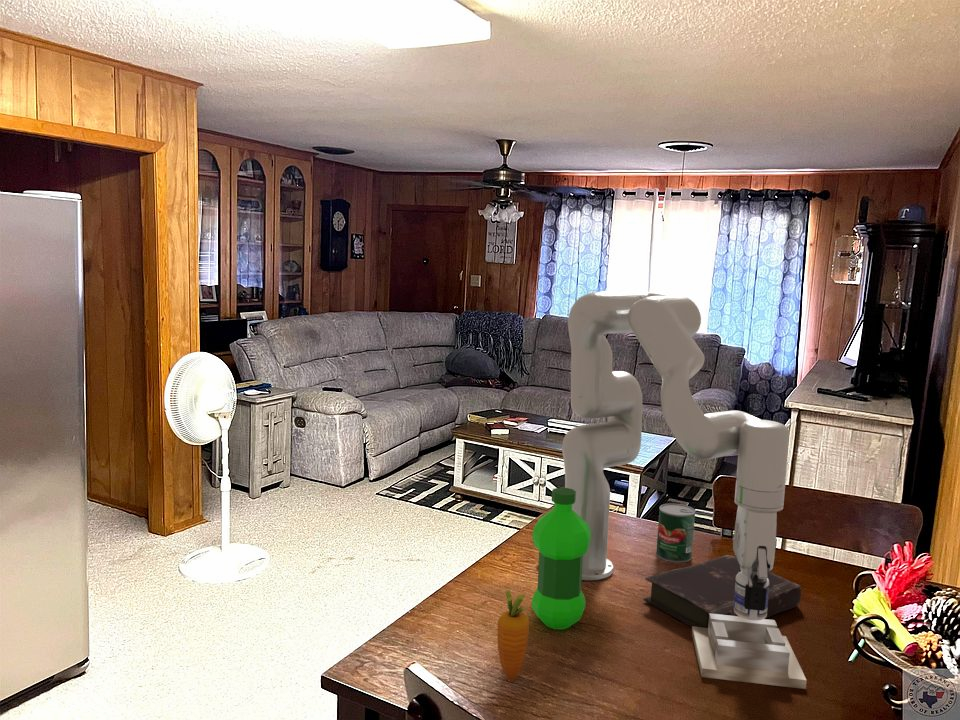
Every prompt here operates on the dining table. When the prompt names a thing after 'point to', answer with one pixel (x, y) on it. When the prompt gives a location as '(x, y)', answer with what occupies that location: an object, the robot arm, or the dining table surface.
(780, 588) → the diary
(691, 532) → the canned tomato
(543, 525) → the plastic bottle
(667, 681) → the dining table surface
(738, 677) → the socket board
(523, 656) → the carrot
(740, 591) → the pill bottle
